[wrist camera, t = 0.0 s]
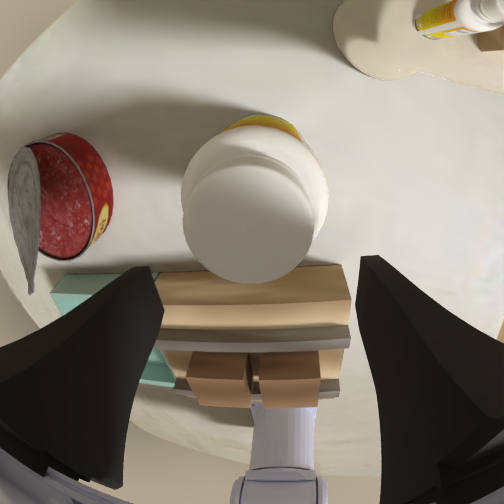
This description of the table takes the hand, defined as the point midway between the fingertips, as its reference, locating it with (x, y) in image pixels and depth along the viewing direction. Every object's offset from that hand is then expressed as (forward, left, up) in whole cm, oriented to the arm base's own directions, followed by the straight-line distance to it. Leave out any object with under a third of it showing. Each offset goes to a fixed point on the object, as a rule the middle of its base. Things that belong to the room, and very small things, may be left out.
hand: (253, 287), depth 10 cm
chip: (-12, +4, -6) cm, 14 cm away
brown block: (-12, -1, -6) cm, 13 cm away
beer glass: (+10, -8, -10) cm, 16 cm away
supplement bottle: (+2, 0, -10) cm, 11 cm away
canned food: (+2, +16, -10) cm, 19 cm away
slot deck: (-12, +2, -10) cm, 16 cm away
